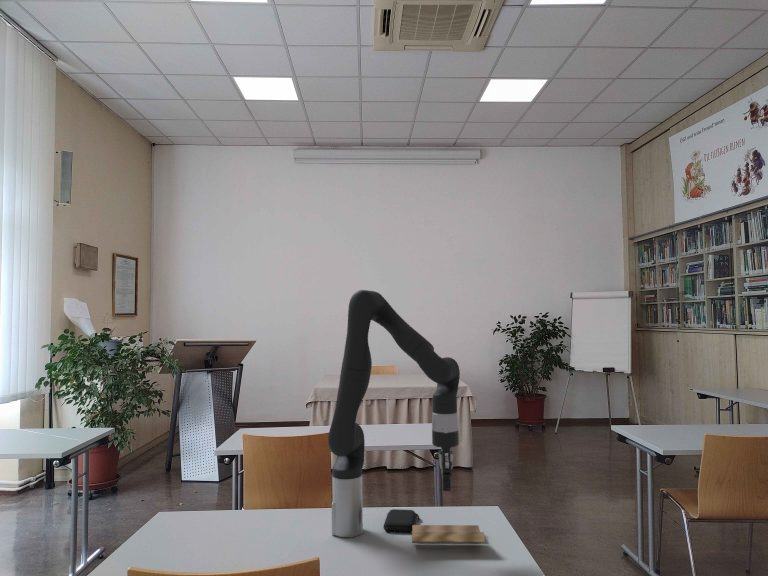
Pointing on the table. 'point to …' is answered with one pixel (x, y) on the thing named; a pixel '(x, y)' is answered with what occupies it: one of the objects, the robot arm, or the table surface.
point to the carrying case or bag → (400, 521)
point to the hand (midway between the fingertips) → (446, 490)
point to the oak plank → (448, 537)
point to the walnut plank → (445, 528)
